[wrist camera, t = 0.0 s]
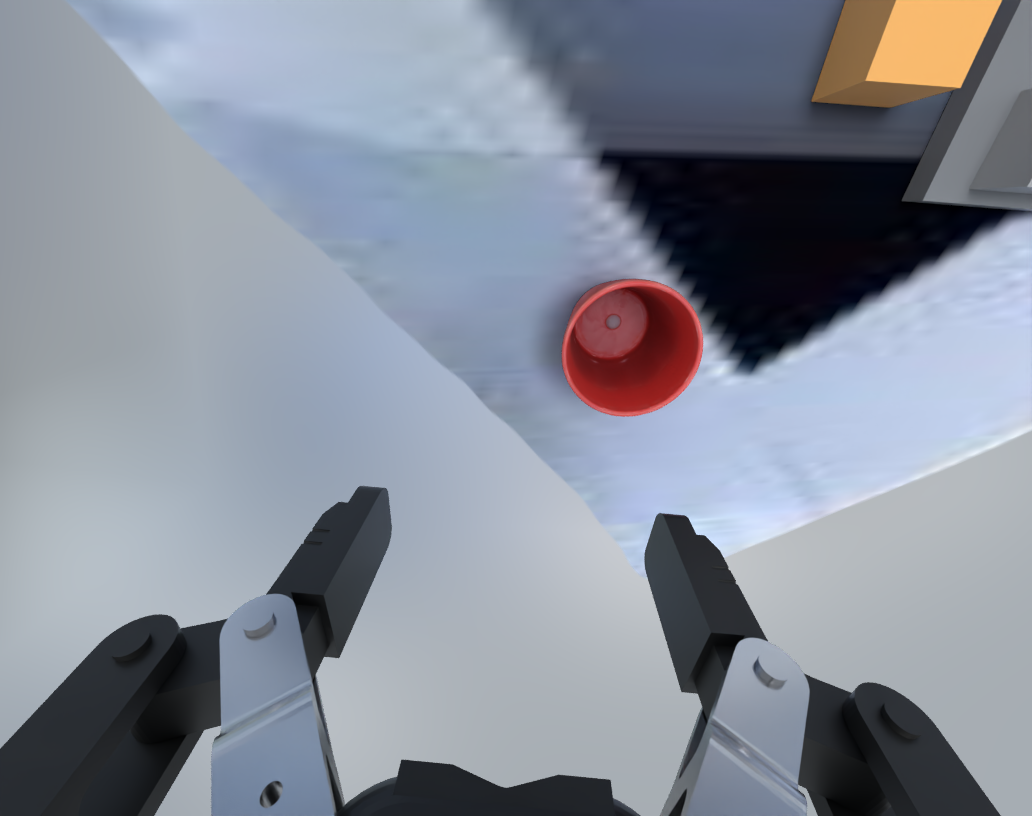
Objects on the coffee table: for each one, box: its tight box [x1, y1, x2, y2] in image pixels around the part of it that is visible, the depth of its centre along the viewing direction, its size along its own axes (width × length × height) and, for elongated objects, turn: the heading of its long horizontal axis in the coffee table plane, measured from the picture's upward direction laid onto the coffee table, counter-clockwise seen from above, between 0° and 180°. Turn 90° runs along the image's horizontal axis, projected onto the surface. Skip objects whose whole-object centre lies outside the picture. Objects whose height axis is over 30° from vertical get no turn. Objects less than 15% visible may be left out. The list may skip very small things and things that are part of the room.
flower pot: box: [562, 279, 703, 416], centre depth 34 cm, size 11×11×10 cm
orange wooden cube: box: [811, 0, 1002, 108], centre depth 26 cm, size 6×6×6 cm
